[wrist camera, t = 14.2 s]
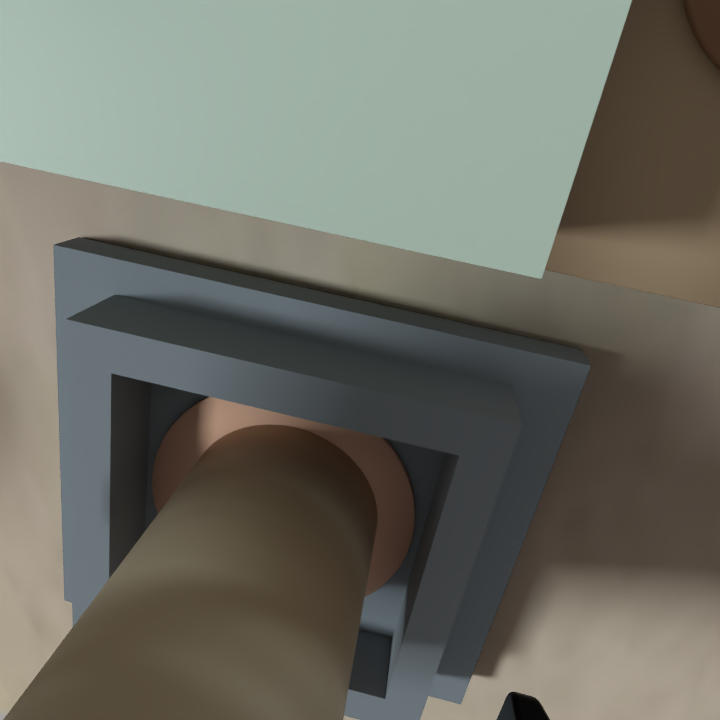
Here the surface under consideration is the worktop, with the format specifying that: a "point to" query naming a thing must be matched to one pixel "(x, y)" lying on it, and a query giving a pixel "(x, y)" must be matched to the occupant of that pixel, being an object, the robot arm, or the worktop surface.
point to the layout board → (652, 161)
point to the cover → (321, 110)
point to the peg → (228, 595)
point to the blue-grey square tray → (319, 416)
